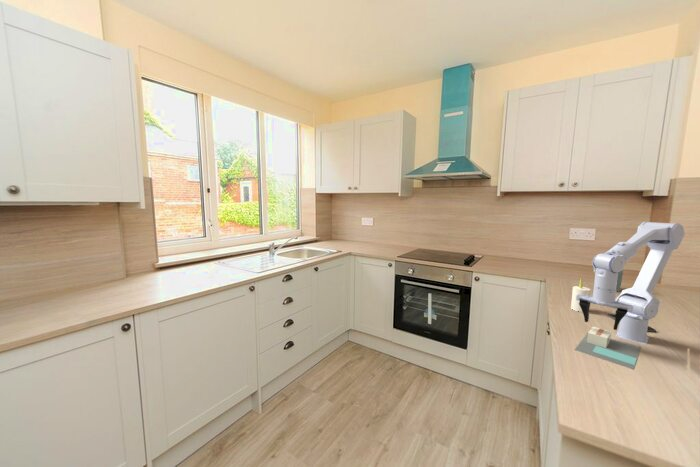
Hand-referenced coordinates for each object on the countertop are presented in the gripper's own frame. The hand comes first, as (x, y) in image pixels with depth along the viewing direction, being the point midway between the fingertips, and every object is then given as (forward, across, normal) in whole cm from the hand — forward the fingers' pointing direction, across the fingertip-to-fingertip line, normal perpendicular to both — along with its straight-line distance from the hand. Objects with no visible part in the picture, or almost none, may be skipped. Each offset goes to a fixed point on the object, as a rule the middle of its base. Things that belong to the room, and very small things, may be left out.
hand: (600, 325), depth 97 cm
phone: (+7, +5, +32) cm, 33 cm away
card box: (+6, 0, 0) cm, 6 cm away
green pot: (+7, -9, +87) cm, 88 cm away
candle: (+7, -12, +34) cm, 37 cm away
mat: (+7, +3, -4) cm, 8 cm away
